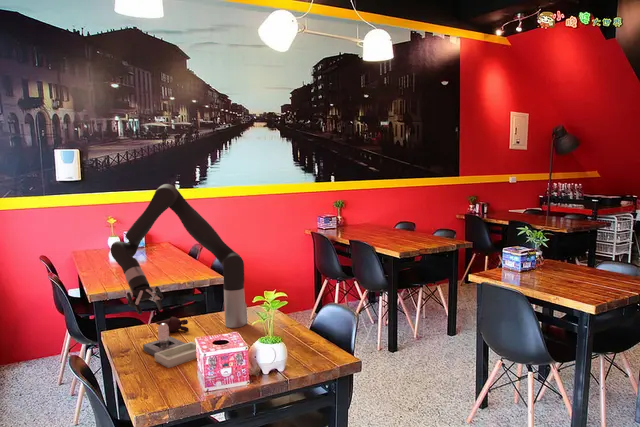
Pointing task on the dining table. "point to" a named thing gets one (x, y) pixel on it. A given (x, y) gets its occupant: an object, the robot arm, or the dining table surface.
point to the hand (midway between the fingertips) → (151, 311)
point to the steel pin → (163, 335)
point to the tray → (176, 355)
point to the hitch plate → (154, 346)
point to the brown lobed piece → (174, 324)
